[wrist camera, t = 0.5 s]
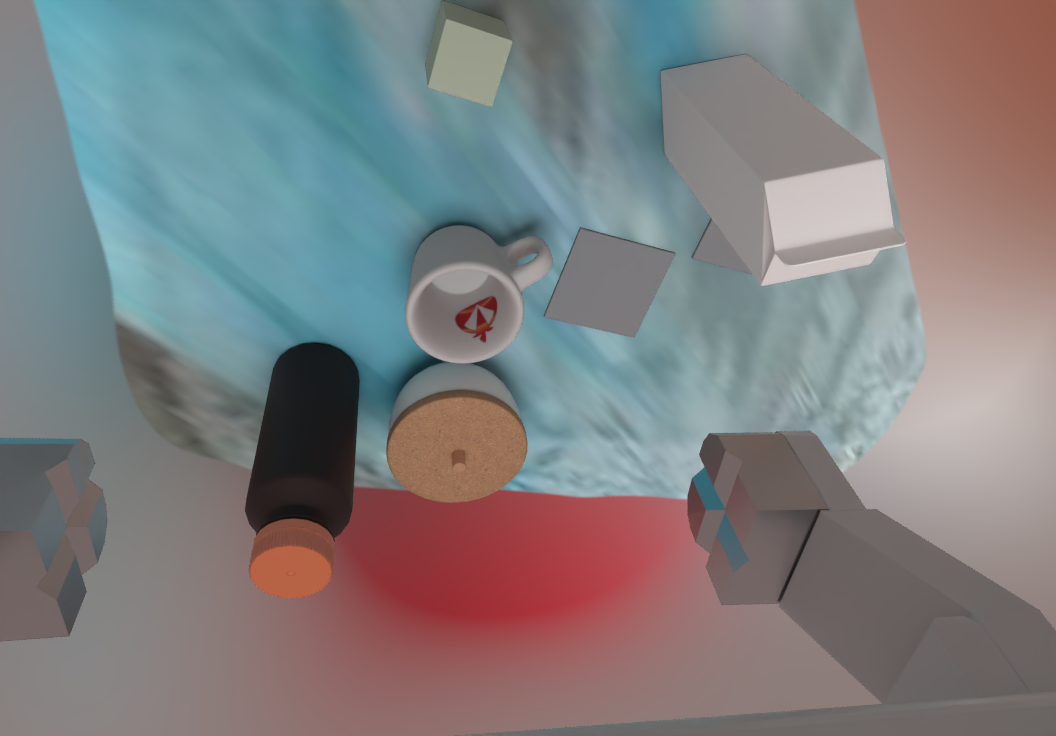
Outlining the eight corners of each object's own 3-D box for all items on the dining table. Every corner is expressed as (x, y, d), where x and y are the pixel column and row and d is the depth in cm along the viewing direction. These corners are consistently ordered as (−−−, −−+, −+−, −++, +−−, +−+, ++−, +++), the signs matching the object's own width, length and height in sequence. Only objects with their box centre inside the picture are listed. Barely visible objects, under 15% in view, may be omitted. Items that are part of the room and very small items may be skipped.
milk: (659, 69, 53) (788, 207, 36) (747, 52, 54) (919, 181, 36) (663, 156, 57) (782, 319, 39) (746, 139, 57) (902, 295, 39)
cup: (517, 174, 56) (533, 224, 50) (560, 262, 61) (580, 318, 55) (383, 240, 58) (382, 296, 52) (436, 321, 63) (440, 382, 56)
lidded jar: (447, 458, 71) (453, 538, 64) (359, 391, 66) (355, 469, 58) (540, 391, 68) (559, 467, 61) (457, 314, 63) (466, 387, 55)
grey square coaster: (726, 187, 59) (727, 188, 59) (794, 208, 61) (795, 209, 61) (691, 257, 62) (692, 258, 62) (756, 274, 64) (757, 275, 64)
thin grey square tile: (580, 227, 59) (580, 228, 59) (674, 252, 62) (675, 253, 62) (543, 316, 64) (544, 317, 64) (633, 336, 66) (634, 337, 66)
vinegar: (289, 417, 66) (257, 618, 50) (259, 351, 62) (212, 548, 46) (369, 399, 66) (362, 595, 50) (344, 332, 62) (328, 523, 46)
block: (442, -1, 49) (446, 18, 45) (503, 20, 50) (512, 41, 46) (425, 64, 51) (427, 87, 47) (484, 82, 52) (492, 107, 48)
